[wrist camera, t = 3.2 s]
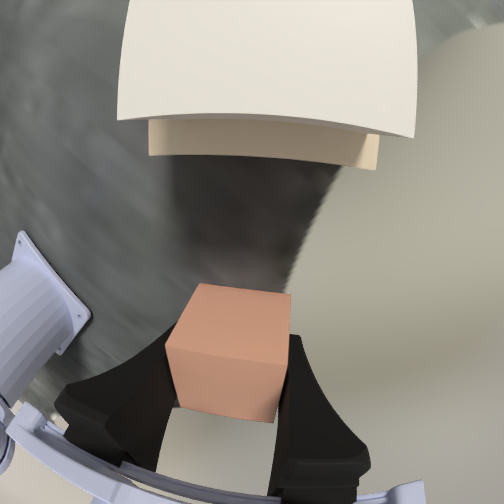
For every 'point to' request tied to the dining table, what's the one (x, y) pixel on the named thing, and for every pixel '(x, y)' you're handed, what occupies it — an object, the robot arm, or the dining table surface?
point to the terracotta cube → (231, 352)
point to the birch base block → (263, 141)
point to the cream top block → (272, 62)
